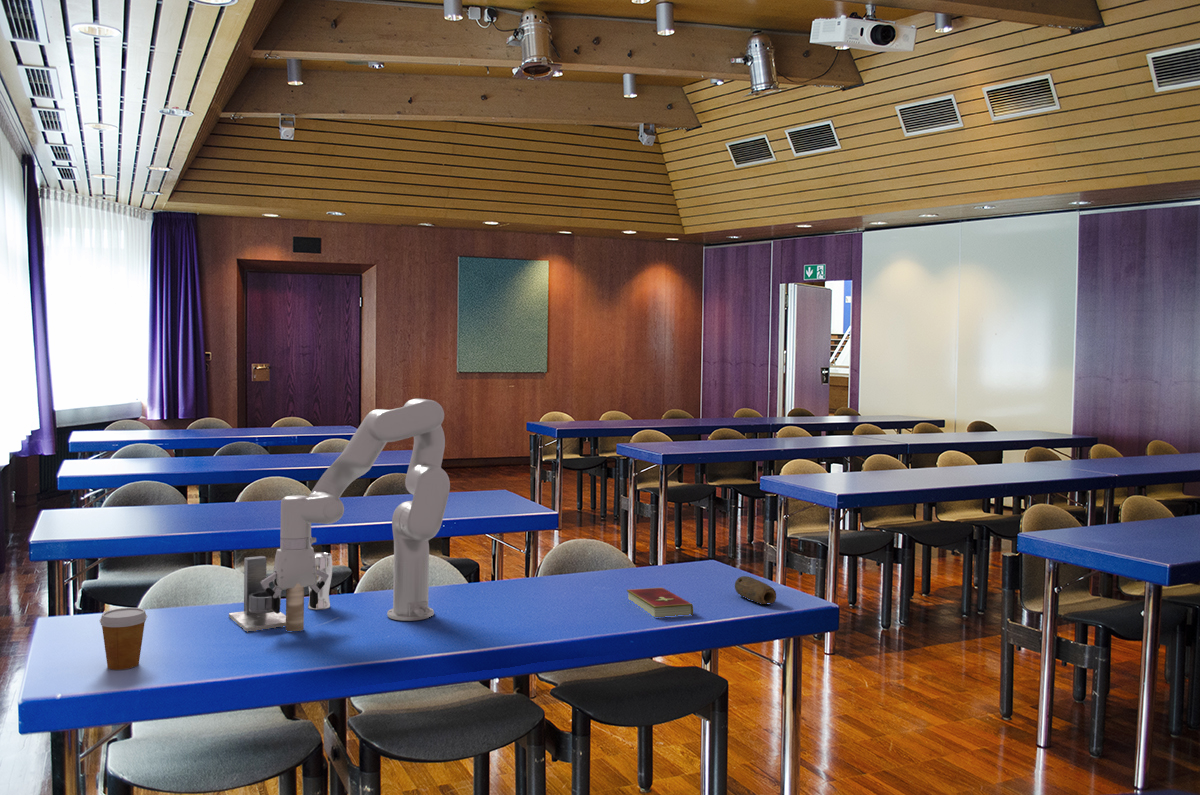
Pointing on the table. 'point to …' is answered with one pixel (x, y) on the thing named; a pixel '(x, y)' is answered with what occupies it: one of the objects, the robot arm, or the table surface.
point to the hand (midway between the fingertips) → (294, 609)
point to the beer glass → (323, 596)
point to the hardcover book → (660, 602)
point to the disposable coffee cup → (123, 636)
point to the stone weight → (755, 590)
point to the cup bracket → (257, 599)
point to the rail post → (295, 608)
